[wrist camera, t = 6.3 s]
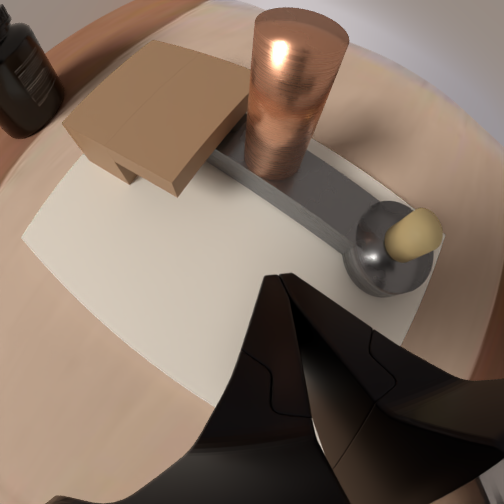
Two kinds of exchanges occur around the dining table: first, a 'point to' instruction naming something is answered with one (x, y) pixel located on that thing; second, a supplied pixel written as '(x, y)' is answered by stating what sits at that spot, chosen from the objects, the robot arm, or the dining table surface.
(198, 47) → the dining table surface
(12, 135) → the supplement bottle
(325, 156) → the base
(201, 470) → the robot arm
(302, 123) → the link
